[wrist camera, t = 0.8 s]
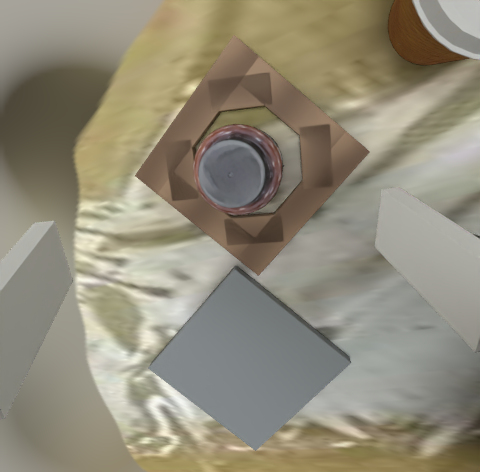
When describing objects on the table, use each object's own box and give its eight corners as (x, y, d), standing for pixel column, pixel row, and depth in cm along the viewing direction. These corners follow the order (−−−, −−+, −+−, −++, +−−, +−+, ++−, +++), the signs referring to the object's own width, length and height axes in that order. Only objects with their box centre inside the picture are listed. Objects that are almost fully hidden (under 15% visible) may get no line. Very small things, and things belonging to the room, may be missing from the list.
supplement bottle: (249, 211, 34) (232, 245, 23) (200, 164, 33) (159, 177, 23) (297, 161, 32) (303, 173, 21) (247, 112, 32) (226, 98, 21)
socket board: (366, 151, 31) (369, 151, 30) (259, 271, 35) (258, 275, 34) (236, 38, 30) (234, 35, 29) (140, 174, 34) (134, 175, 33)
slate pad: (349, 356, 36) (350, 362, 35) (256, 443, 40) (255, 450, 39) (236, 265, 35) (234, 268, 34) (151, 362, 39) (148, 368, 38)
